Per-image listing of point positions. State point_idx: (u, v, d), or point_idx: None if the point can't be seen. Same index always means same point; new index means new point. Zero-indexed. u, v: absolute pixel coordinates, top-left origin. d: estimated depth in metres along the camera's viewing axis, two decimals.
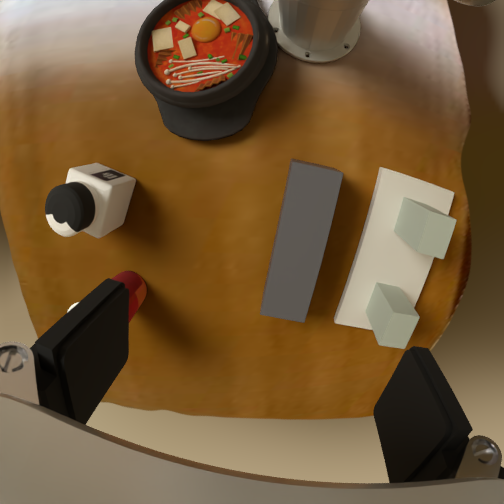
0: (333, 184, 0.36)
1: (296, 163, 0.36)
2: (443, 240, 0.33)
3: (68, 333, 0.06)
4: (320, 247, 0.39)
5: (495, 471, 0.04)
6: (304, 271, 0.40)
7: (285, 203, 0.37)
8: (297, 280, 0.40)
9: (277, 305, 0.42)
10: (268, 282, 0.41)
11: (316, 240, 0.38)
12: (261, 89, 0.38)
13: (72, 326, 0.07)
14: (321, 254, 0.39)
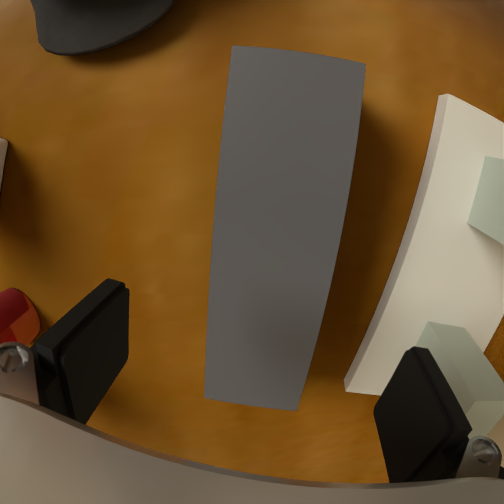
0: (345, 92, 0.13)
1: (242, 48, 0.12)
2: None
3: (68, 333, 0.06)
4: (325, 256, 0.15)
5: (495, 471, 0.04)
6: (288, 315, 0.17)
7: (223, 150, 0.14)
8: (274, 335, 0.17)
9: (236, 383, 0.19)
10: (209, 341, 0.18)
11: (312, 240, 0.15)
12: None
13: (72, 326, 0.07)
14: (328, 273, 0.16)
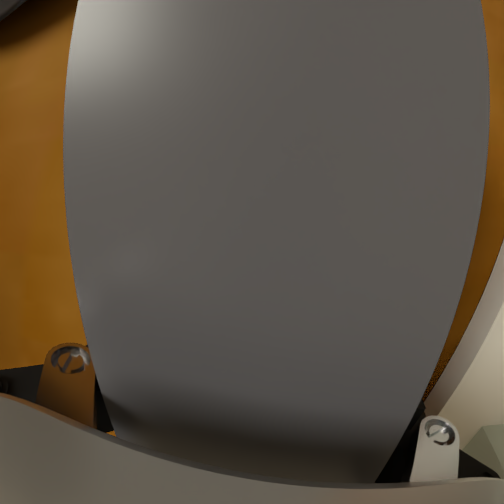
0: (441, 21, 0.03)
1: None
2: None
3: None
4: (368, 455, 0.05)
5: (455, 450, 0.05)
6: None
7: (76, 233, 0.04)
8: None
9: None
10: None
11: (340, 438, 0.05)
12: None
13: None
14: (369, 475, 0.06)
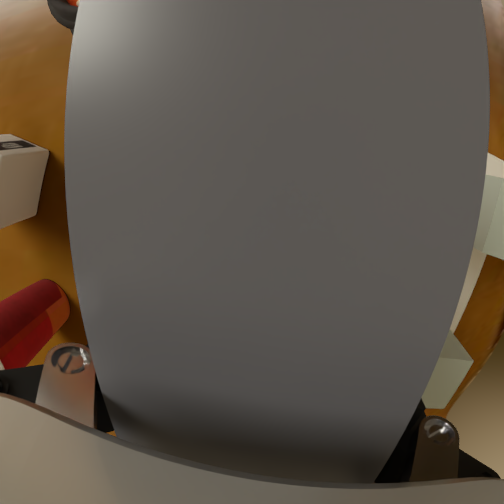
0: (443, 24, 0.03)
1: None
2: None
3: None
4: (367, 456, 0.05)
5: (455, 450, 0.05)
6: None
7: (77, 234, 0.04)
8: None
9: None
10: None
11: (339, 438, 0.05)
12: None
13: None
14: (368, 475, 0.06)
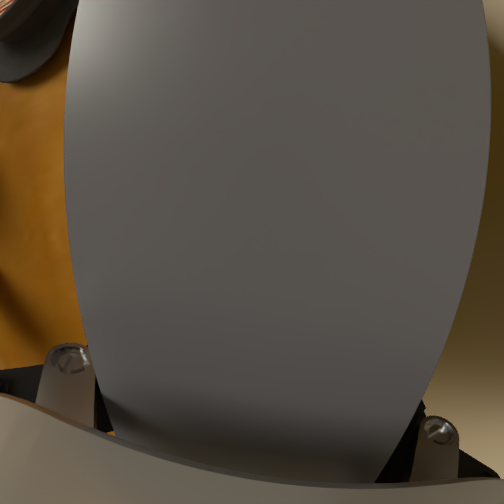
0: (443, 25, 0.03)
1: None
2: None
3: None
4: (367, 457, 0.05)
5: (455, 450, 0.05)
6: None
7: (76, 236, 0.04)
8: None
9: None
10: None
11: (339, 440, 0.05)
12: (75, 5, 0.21)
13: None
14: (368, 477, 0.06)
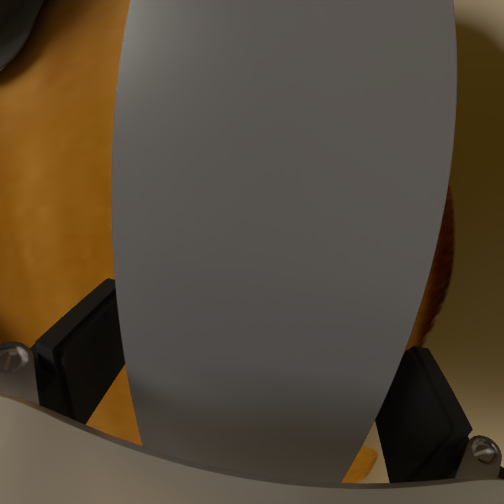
0: (419, 50, 0.04)
1: None
2: None
3: (68, 333, 0.06)
4: (355, 416, 0.07)
5: (496, 471, 0.04)
6: None
7: (119, 207, 0.06)
8: None
9: None
10: None
11: (331, 395, 0.06)
12: None
13: (72, 326, 0.07)
14: (357, 438, 0.07)
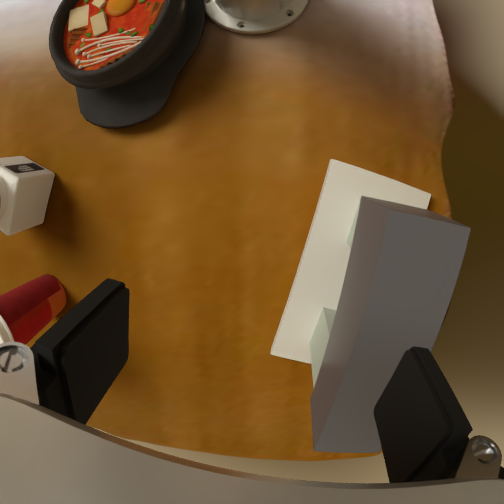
0: (455, 250, 0.17)
1: (396, 213, 0.17)
2: None
3: (68, 333, 0.06)
4: None
5: (495, 471, 0.04)
6: None
7: (372, 291, 0.18)
8: None
9: (342, 439, 0.22)
10: (331, 413, 0.21)
11: None
12: (181, 66, 0.30)
13: (72, 326, 0.07)
14: None
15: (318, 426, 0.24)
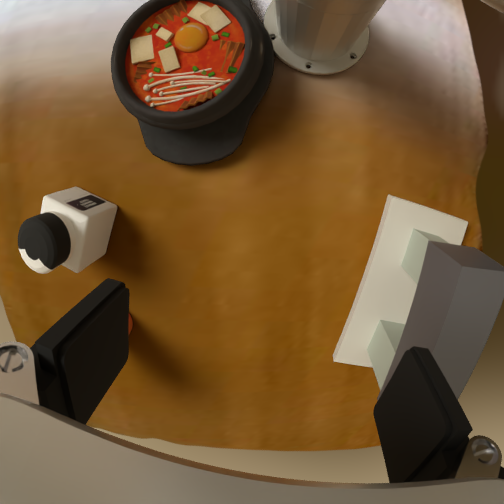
0: (500, 289, 0.21)
1: (466, 268, 0.21)
2: None
3: (68, 333, 0.06)
4: (472, 363, 0.24)
5: (495, 471, 0.04)
6: None
7: (445, 322, 0.23)
8: None
9: None
10: None
11: (469, 357, 0.24)
12: (255, 106, 0.33)
13: (72, 326, 0.07)
14: (471, 370, 0.24)
15: None
